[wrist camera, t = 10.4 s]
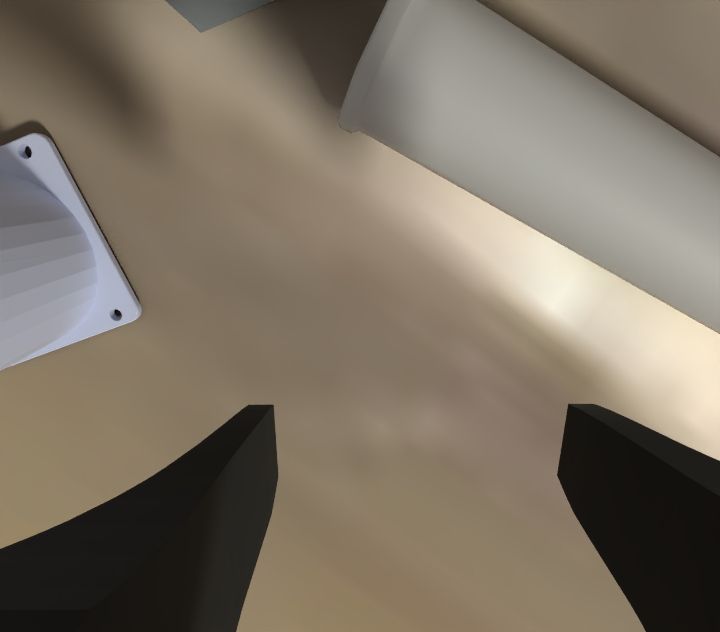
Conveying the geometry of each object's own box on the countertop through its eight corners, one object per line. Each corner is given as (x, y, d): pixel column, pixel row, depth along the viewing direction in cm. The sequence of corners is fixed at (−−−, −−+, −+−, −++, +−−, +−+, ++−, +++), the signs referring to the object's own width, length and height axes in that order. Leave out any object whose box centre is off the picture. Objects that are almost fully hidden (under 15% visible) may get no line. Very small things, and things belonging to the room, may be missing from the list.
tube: (1035, 311, 16) (433, -92, 12) (981, 447, 16) (347, 78, 12) (850, 310, 21) (389, 28, 17) (807, 412, 21) (329, 148, 17)
